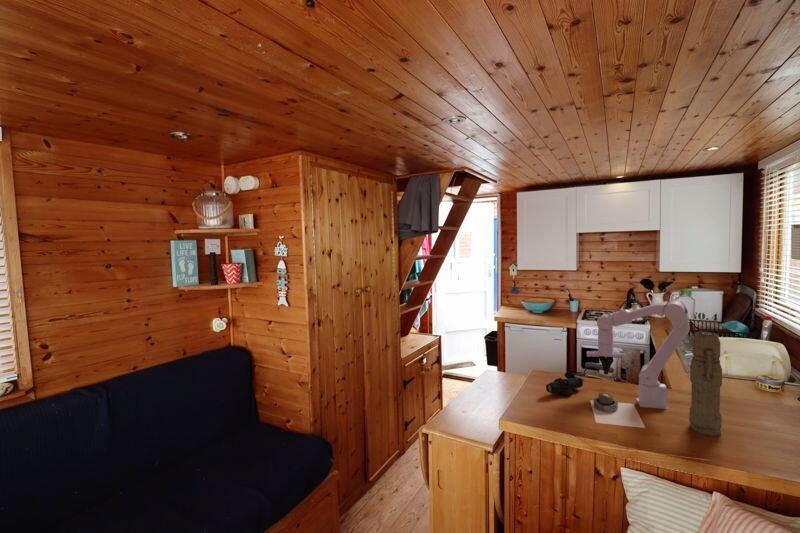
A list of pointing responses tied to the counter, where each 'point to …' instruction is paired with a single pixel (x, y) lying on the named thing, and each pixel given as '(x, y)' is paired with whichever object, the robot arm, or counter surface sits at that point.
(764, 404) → the counter surface
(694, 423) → the brown tall rounded block
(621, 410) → the mat
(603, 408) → the grey bowl
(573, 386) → the night vision scope
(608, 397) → the cap
